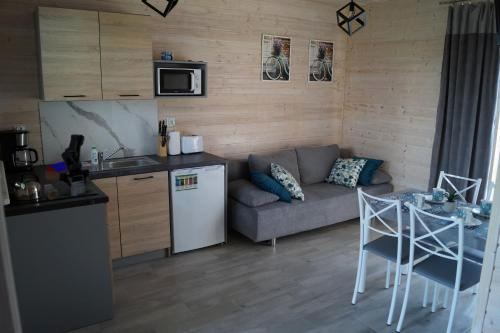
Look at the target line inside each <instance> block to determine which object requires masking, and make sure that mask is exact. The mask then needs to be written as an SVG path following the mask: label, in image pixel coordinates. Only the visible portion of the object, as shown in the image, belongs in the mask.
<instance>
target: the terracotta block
mask: <svg viewBox="0 0 500 333" xmlns="http://www.w3.org/2000/svg"><path fill="white" fill-rule="evenodd" d="M48 186H53V185H52V184H51V183H49V184H44V188H45V187H48ZM44 194H45V195H46V191H45V190H44Z"/></svg>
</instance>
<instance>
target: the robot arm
mask: <svg viewBox="0 0 500 333" xmlns="http://www.w3.org/2000/svg"><path fill="white" fill-rule="evenodd" d="M84 142H85V136H84V135H83V134H76V133H75V134H70V142H69V145H68V147H67V148H65V149H66V150H65V149H64V151H63V152H62V153H61V155H60V156H61V159H62V161H64V162H65V164H66V167H67V171H68V173H69V174H67V173H66V172H62V173H60V174H59V180H58V181H61V182H63V183H65V184H66V185H68V186H69V188H71V183H73V182H76V181H84V185H86V184H87V181H86V180H87V178H89V175H90V169H89V168H87V169H82V167H83V164H82V162H81V148H82V146H83V145H84ZM69 178H70V179H71V180H70V179H69Z"/></svg>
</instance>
